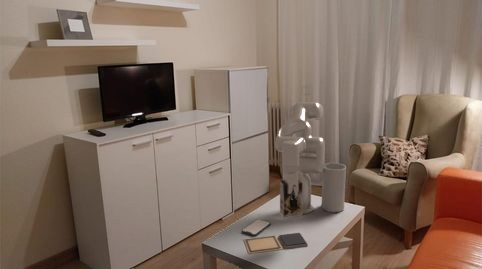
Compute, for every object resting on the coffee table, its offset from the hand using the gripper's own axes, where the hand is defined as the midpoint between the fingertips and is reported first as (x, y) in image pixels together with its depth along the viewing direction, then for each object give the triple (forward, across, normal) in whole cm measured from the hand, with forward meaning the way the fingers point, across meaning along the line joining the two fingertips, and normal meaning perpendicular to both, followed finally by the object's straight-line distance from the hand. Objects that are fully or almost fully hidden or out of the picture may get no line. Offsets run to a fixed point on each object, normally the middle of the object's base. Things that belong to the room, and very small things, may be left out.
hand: (291, 203), depth 173 cm
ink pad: (+19, 0, 0) cm, 19 cm away
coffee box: (+5, 0, 0) cm, 5 cm away
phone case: (+20, -17, -13) cm, 30 cm away
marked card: (+19, -1, -14) cm, 24 cm away
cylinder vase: (+20, -29, +34) cm, 49 cm away
